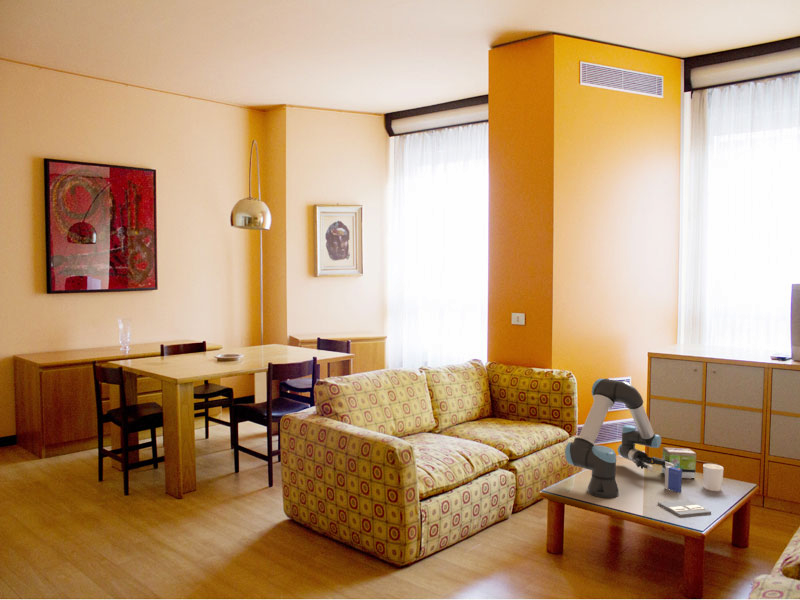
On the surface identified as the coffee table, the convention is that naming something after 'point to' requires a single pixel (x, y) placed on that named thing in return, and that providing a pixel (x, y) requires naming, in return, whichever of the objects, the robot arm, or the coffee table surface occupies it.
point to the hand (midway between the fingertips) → (662, 468)
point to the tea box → (681, 460)
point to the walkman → (673, 478)
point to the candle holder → (712, 477)
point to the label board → (684, 508)
